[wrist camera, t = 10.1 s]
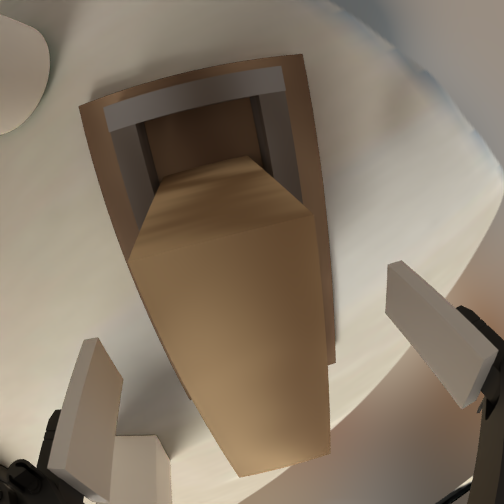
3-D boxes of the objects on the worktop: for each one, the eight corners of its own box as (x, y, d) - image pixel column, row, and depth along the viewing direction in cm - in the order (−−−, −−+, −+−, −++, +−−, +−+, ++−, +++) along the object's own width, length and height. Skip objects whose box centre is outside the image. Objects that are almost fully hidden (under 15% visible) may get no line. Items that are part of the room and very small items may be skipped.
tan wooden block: (218, 347, 21) (239, 477, 12) (163, 176, 16) (127, 262, 7) (284, 330, 22) (334, 452, 13) (251, 154, 16) (321, 212, 7)
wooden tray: (189, 386, 25) (191, 424, 21) (87, 106, 15) (60, 106, 11) (329, 350, 26) (347, 384, 22) (294, 57, 16) (319, 46, 12)
